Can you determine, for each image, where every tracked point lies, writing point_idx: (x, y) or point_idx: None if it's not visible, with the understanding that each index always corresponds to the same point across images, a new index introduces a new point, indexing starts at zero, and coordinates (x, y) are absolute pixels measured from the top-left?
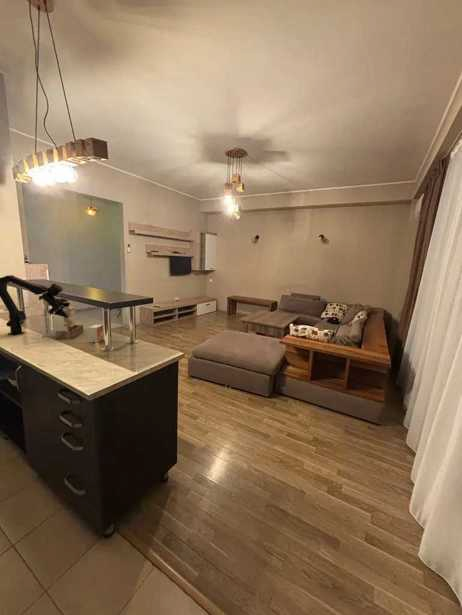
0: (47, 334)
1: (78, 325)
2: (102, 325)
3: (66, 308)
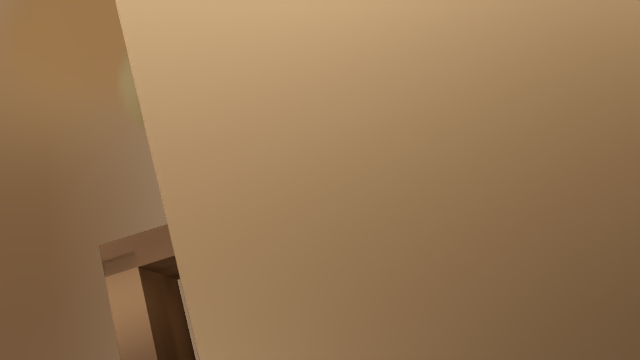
0: None
1: (146, 306)
2: None
3: None
